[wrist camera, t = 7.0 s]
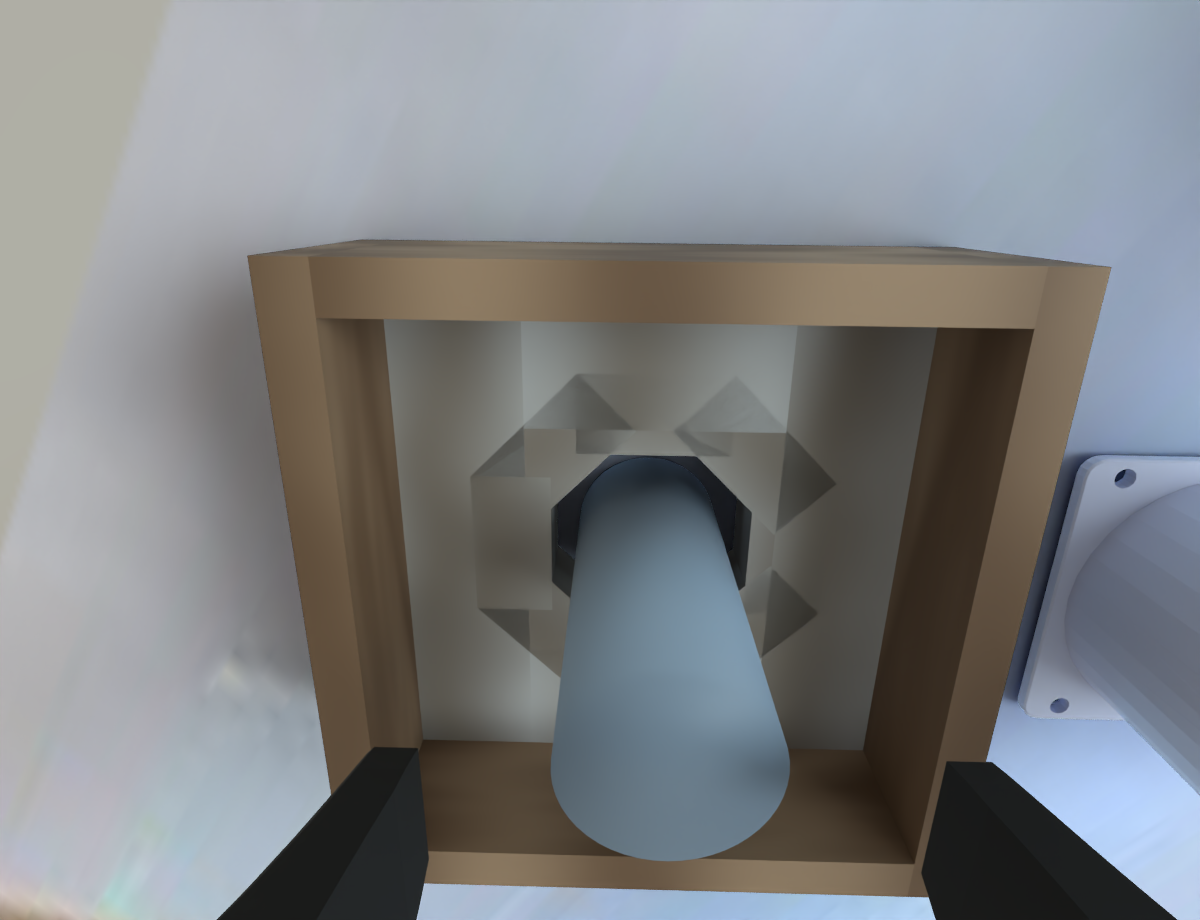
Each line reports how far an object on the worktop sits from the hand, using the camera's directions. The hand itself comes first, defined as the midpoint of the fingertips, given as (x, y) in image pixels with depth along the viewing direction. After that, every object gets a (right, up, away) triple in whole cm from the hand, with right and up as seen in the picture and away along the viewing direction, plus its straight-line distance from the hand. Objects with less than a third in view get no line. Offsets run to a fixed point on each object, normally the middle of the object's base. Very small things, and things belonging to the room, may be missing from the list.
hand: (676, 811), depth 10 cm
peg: (0, +3, +9) cm, 10 cm away
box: (0, +3, +9) cm, 10 cm away
